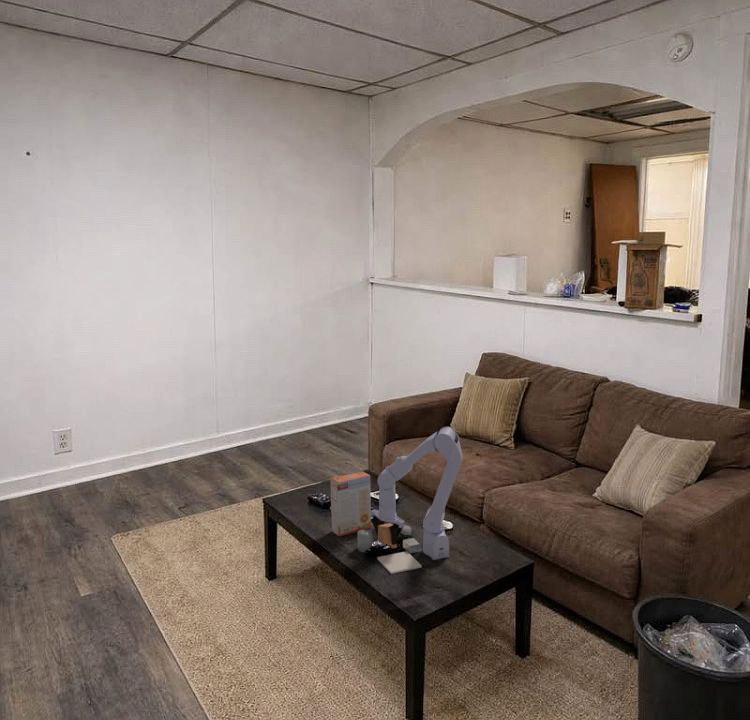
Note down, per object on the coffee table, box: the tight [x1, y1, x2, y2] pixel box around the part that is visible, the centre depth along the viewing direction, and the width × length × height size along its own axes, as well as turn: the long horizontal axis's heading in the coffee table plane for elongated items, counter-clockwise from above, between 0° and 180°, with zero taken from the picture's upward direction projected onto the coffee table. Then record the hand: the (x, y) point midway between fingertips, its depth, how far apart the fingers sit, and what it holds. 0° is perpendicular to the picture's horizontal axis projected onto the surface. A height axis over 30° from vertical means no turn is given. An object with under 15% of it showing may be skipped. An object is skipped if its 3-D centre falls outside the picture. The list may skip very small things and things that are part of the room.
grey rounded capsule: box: [356, 529, 374, 553], centre depth 217 cm, size 5×5×6 cm
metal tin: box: [402, 537, 421, 555], centre depth 216 cm, size 5×4×3 cm
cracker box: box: [330, 471, 372, 538], centre depth 230 cm, size 14×6×21 cm, turn 122°
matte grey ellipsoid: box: [401, 524, 412, 536], centre depth 228 cm, size 6×6×2 cm
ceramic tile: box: [376, 550, 423, 575], centre depth 207 cm, size 11×11×1 cm
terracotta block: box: [377, 522, 398, 549], centre depth 219 cm, size 5×5×7 cm
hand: (387, 540), depth 219 cm, fingers closed on terracotta block, 6 cm apart
